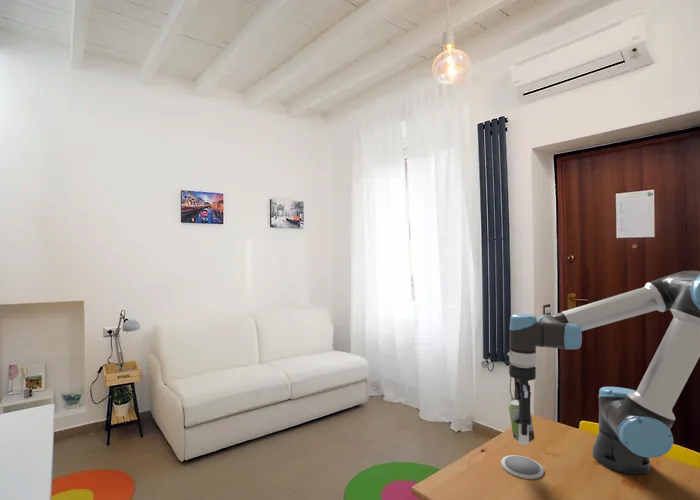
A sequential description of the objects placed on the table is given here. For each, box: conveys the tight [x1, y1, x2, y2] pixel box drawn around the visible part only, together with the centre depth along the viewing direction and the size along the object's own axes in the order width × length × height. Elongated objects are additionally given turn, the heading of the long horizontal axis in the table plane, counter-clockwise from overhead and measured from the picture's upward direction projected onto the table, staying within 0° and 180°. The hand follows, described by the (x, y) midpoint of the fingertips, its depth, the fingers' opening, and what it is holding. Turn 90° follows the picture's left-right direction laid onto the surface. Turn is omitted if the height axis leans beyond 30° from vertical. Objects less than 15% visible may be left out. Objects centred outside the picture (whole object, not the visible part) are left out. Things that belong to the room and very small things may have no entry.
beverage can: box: [508, 399, 535, 443], centre depth 120 cm, size 6×7×12 cm
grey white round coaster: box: [500, 454, 545, 480], centre depth 120 cm, size 12×12×1 cm
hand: (521, 438), depth 120 cm, fingers closed on beverage can, 6 cm apart
